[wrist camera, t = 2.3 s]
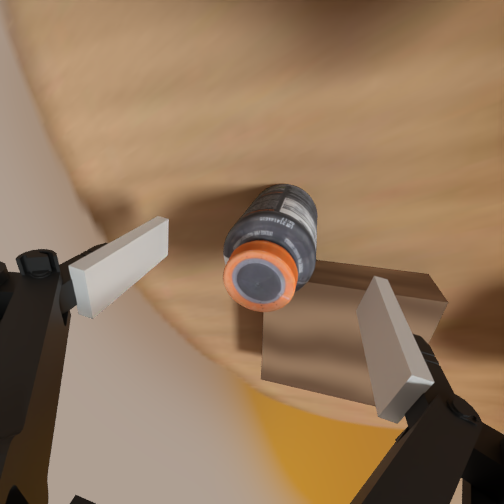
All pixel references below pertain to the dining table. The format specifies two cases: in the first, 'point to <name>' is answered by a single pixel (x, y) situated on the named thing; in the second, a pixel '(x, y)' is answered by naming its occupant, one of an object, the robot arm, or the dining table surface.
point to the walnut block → (339, 328)
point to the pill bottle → (271, 249)
